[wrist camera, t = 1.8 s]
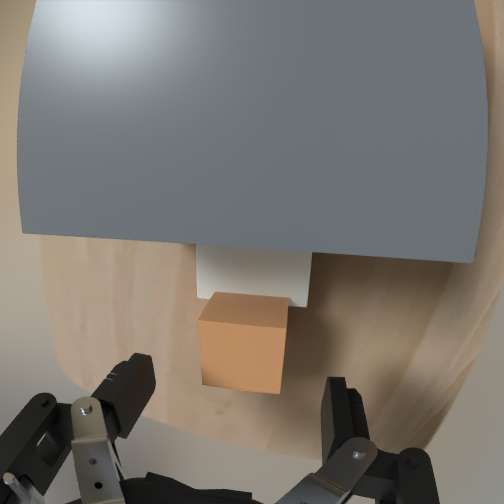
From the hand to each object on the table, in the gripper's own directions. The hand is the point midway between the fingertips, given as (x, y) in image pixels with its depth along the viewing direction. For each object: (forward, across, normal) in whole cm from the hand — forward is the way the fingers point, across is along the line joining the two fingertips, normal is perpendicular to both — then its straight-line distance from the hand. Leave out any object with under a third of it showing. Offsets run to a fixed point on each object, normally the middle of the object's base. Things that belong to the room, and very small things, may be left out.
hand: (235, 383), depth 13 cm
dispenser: (+7, 0, -15) cm, 17 cm away
